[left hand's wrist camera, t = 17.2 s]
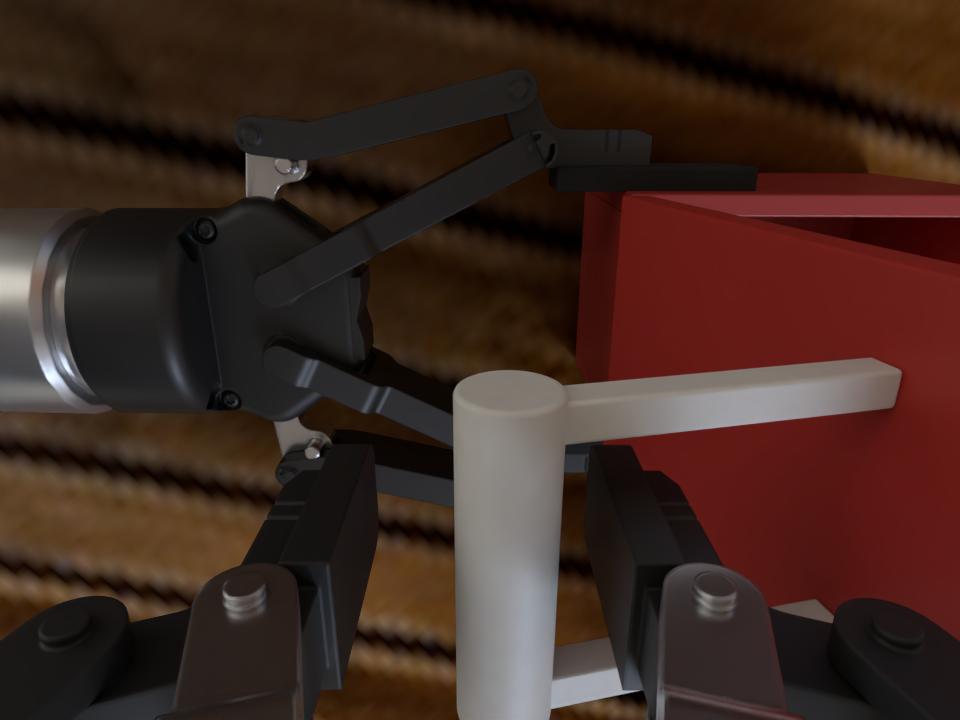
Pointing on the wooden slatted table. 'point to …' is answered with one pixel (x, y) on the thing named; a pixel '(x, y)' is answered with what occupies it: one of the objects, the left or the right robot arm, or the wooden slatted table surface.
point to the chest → (780, 200)
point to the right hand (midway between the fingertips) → (722, 312)
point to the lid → (722, 440)
